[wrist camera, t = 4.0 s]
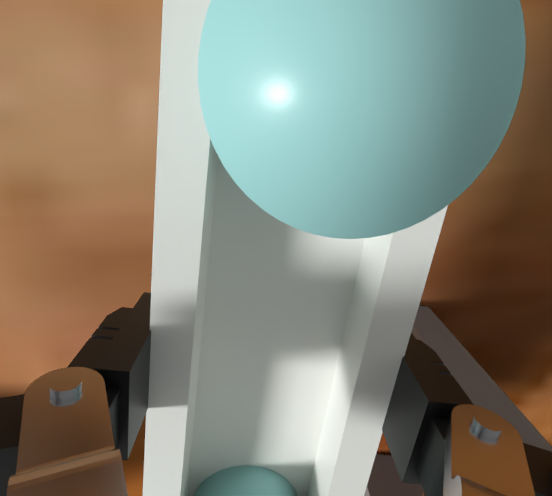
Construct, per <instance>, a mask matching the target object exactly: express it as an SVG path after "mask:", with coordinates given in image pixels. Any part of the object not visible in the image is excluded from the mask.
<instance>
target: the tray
mask: <svg viewBox="0 0 552 496" xmlns="http://www.w3.org/2000/svg"><path fill="white" fill-rule="evenodd" d="M525 44H526V38H525V28H524V18H523V12H522V8H521V3H520V0H163V16H162V40H161V64H160V88H159V113H158V137H157V161H156V185H155V209H154V234H153V258H152V282H151V306H150V330H151V349H150V372H149V395H148V409H147V412H146V427H145V451H144V475H143V496H364V494H365V491H366V487H367V484H368V480H369V477H370V473H371V470H372V466H373V463H374V460H375V456H376V453H377V449H378V446H379V442H380V439H381V435H382V432H383V431H382V427H383V423H384V420H385V416H386V413H387V409H388V406H389V402H390V399H391V395H392V392H393V388H394V385H395V381H396V378H397V375H398V371H399V368H400V364H401V361H402V357H404V356H405V352H406V349H407V345H408V342H409V338H410V335H411V331H412V328H413V325H414V321H415V318H416V314H417V311H418V307H419V304H420V300H421V297H422V293H423V290H424V287H425V283H426V280H427V276H428V273H429V269H430V266H431V262H432V259H433V255H434V252H435V248H436V245H437V242H438V238H439V235H440V231H441V228H442V224H443V221H444V217H445V214H446V210H447V207H448V204H450V203H451V202H452V201H454V200H455V199H456V198H457V197H459V196H460V195H461V194H462V193H463V192H464V191H465V190H466V189H467V188H468V187H469V186H470V185H471V184H472V183H473V182H474V181H475V179H476V178H477V177H478V176H479V175H480V173H481V172H482V171H483V170H484V169H485V167H486V166H487V164H488V163H489V161H490V160H491V158H492V157H493V155H494V154H495V152H496V151H497V149H498V148H499V146H500V144H501V142H502V140H503V138H504V136H505V134H506V132H507V130H508V128H509V125H510V123H511V120H512V117H513V115H514V112H515V109H516V106H517V102H518V99H519V95H520V91H521V87H522V81H523V74H524V67H525Z"/></svg>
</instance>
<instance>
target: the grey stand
mask: <svg viewBox="0 0 552 496" xmlns="http://www.w3.org/2000/svg"><path fill="white" fill-rule="evenodd" d="M411 332H412V334H413V335H414V337H415V338H416V340H421V341H423V342H424V343H425V344H426V345H428V346H429V347H430V348H432V349H433V350H434V351H435V352H436V353H437V355H438V356H439V357H440V359H441V360H442V361H443V365H445V366H446V367H447V368H448V370H449V371H450V372H451V375H453V377H454V378H455V379H456V381H457V382H458V383H459V385H460V386H461V388H462V389H463V390H464V392H465V393H466V394H467V396H468V397H469V399H470V400H471V401H472V403H473V404H474V405H476V406H480V407H483V408H486V409H488V410H490V411H492V412H494V413H496V414H498V415H499V416H501V417H502V418H504V419H505V420H507V421H508V422H509V423H510V424H511V425H512V426H513V427H514V428H515V429H516V430H517V431H518V433H519V435H520V436H521V439H522V442H523V443H526V444H529V445H532V446H535V447H538V448H542V449H545V450H548V451H551V452H552V446H551V445H550V444H549V443H548V442H547V441H546V439H545V438H544V437H543V436H542V435H541V434H540V433H539V432H538V430H537V429H536V428H535V427H534V426H533V425H532V424H531V422H530V421H529V420H528V419H527V418H526V417H525V416H524V415H523V413H522V412H521V411H520V410H519V409H518V408H517V407H516V405H515V404H514V403H513V402H512V401H511V400H510V399H509V398H508V396H507V395H506V394H505V393H504V392H503V391H502V390H501V388H500V387H499V386H498V385H497V384H496V383H495V382H494V381H493V379H492V378H491V377H490V376H489V375H488V374H487V373H486V371H485V370H484V369H483V368H482V367H481V366H480V365H479V364H478V362H477V361H476V360H475V359H474V358H473V357H472V356H471V354H470V353H469V352H468V351H467V350H466V349H465V348H464V347H463V345H462V344H461V343H460V342H459V341H458V340H457V339H456V337H455V336H454V335H453V334H452V333H451V332H450V331H449V330H448V328H447V327H446V326H445V325H444V324H443V323H442V322H441V320H440V319H439V318H438V317H437V316H436V315H435V314H434V313H433V311H432V310H431V309H430V308H429V307H427V306H419V307H418V311H417V314H416V318H415V321H414V325H413V328H412V331H411ZM423 492H424V490H423V488H422V486H421V484H411V483H402V481H401V479H400V476H399V473H398V471H397V468H396V465H395V463H394V460H393V457H392V456H391V455H381V454H376V456H375V460H374V463H373V466H372V470H371V473H370V477H369V480H368V484H367V487H366V491H365V494H364V496H422V495H423Z"/></svg>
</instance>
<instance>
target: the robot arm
mask: <svg viewBox="0 0 552 496" xmlns="http://www.w3.org/2000/svg"><path fill="white" fill-rule="evenodd" d="M150 306H151V293H146V292H144V293H143V294H142V296H141V297H140V299H139V300H138V302H137V303H136V305H135V306H134V308H125V307H122V308H120V309H118V310H116V311H115V312H113V313H111V314H109V315H107V317H106V318H105V319H104V321H103V322H102V323H101V324H100V326H99V329H97V330H96V331H95V332H94V333H93V335H92V338H90V339H89V340H88V341H87V342H86V344H85V345H84V346H83V348H82V349H81V350H80V351H79V353H78V354H77V355H76V357H75V358H74V359H73V361H72V362H71V363H70V364H69V366H68V367H67V368H61V369H57V370H54V371H51V372H49V373H46V374H44V375H42V376H40V377H39V378H37V379H36V380H35V381H34V382H32V383H31V384H30V386H29V387H28V388H27V390H26V392H25V394H23V395H19V396H13V397H5V398H0V496H128V493H127V487H126V481H125V475H124V469H123V463H122V460H128V458H129V455H130V453H131V450H132V448H133V445H134V442H135V440H136V437H137V435H138V432H139V430H140V427H141V425H142V422H143V419H144V417H145V414H146V412H147V409H148V395H149V372H150V349H151V330H150ZM382 431H383V434H384V436H385V439H386V442H387V444H388V447H389V450H390V452H391V455H392V457H393V460H394V463H395V465H396V468H397V471H398V473H399V476H400V479H401V481H402V483H411V484H421V486H422V488H423V490H424V492H423V495H422V496H552V452H551V451H548V450H545V449H542V448H538V447H535V446H532V445H529V444H526V443H523V442H522V439H521V436H520V435H519V433H518V431H517V430H516V429H515V428H514V427H513V426H512V425H511V424H510V423H509V422H508V421H507V420H505V419H504V418H502V417H501V416H499V415H498V414H496V413H494V412H492V411H490V410H488V409H486V408H483V407H480V406H476V405H474V404H473V403H472V401H471V400H470V399H469V397H468V396H467V394H466V393H465V392H464V390H463V389H462V388H461V386H460V385H459V383H458V382H457V381H456V379H455V378H454V377H453V375H451V372H450V371H449V370H448V368H447V367H446V366H445V365H443V361H442V360H441V359H440V357H439V356H438V355H437V353H436V352H435V351H434V350H433V349H432V348H430V347H429V346H428V345H426V344H425V343H424V342H423V341H421V340H416V338H415V337H414V335H413V334H412V332H411V335H410V338H409V342H408V345H407V349H406V352H405V356H404V357H402V361H401V364H400V368H399V371H398V375H397V378H396V381H395V385H394V388H393V392H392V395H391V399H390V402H389V406H388V409H387V413H386V416H385V420H384V423H383V427H382Z"/></svg>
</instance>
